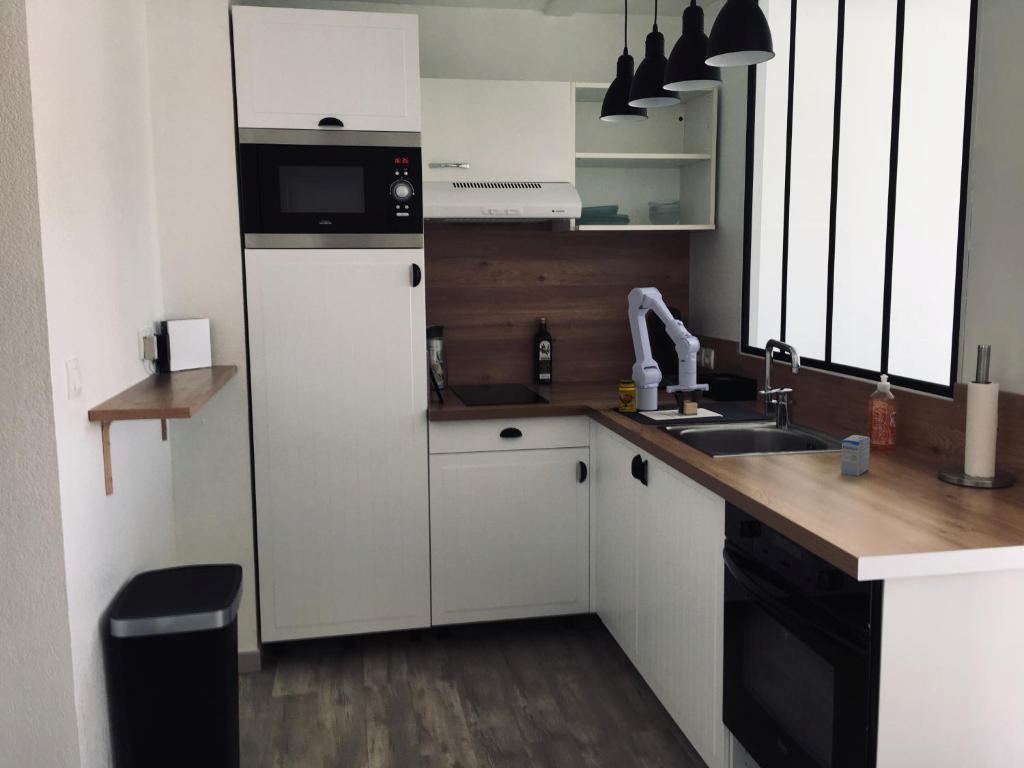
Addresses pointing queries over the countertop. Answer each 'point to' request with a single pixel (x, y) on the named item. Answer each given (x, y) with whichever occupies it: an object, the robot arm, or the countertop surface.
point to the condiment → (627, 396)
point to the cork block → (689, 408)
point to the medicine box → (855, 455)
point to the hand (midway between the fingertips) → (687, 412)
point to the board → (677, 414)
